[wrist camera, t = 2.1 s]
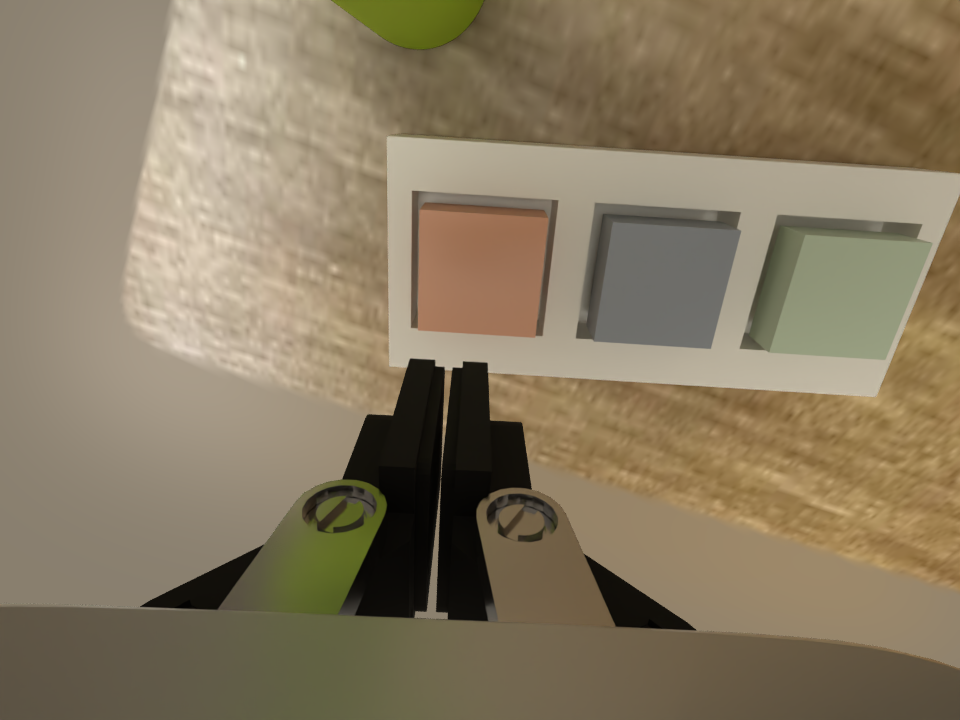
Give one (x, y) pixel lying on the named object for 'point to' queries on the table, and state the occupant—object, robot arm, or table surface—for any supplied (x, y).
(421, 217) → the terracotta button
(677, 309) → the slate button
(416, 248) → the button panel
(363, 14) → the soap dispenser
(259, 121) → the table surface
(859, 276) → the sage button
